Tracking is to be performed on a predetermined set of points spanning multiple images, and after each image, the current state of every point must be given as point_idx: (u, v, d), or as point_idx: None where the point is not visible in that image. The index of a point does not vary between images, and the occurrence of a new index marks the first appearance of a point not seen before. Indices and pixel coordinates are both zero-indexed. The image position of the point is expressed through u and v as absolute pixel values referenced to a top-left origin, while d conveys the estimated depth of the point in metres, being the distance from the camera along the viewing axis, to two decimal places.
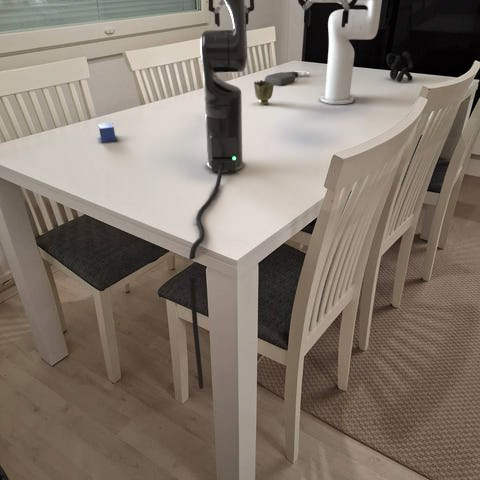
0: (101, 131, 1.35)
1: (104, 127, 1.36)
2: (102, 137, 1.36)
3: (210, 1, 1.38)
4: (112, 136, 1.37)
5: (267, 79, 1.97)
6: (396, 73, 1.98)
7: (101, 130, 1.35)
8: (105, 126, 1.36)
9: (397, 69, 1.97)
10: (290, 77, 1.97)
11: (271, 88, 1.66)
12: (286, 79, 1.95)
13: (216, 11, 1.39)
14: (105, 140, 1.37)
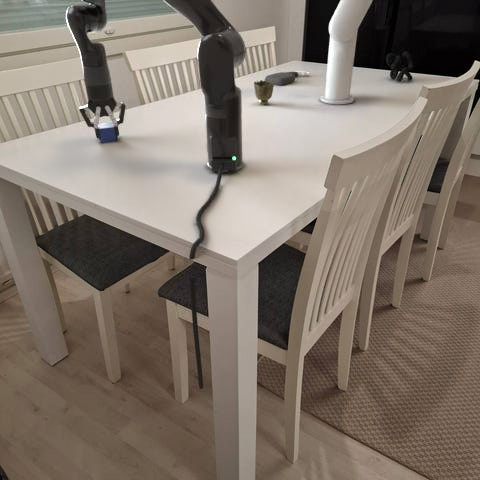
0: (101, 131, 1.35)
1: (104, 127, 1.36)
2: (102, 137, 1.36)
3: None
4: (112, 136, 1.37)
5: (267, 79, 1.97)
6: (396, 73, 1.98)
7: (101, 130, 1.35)
8: (105, 126, 1.36)
9: (397, 69, 1.97)
10: (290, 77, 1.97)
11: (271, 88, 1.66)
12: (286, 79, 1.95)
13: None
14: (105, 140, 1.37)
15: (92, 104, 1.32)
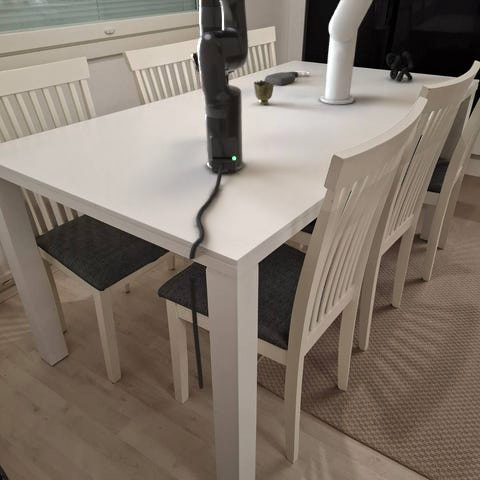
0: None
1: None
2: None
3: None
4: None
5: (267, 79, 1.97)
6: (396, 73, 1.98)
7: None
8: None
9: (397, 69, 1.97)
10: (290, 77, 1.97)
11: (271, 88, 1.66)
12: (286, 79, 1.95)
13: None
14: None
15: None
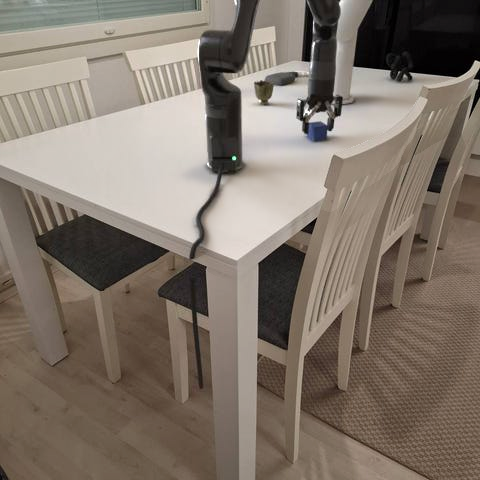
0: (316, 130, 1.33)
1: (318, 126, 1.33)
2: (315, 136, 1.34)
3: None
4: (324, 134, 1.35)
5: (267, 79, 1.97)
6: (396, 73, 1.98)
7: (316, 129, 1.33)
8: (318, 125, 1.34)
9: (397, 69, 1.97)
10: (290, 77, 1.97)
11: (271, 88, 1.66)
12: (286, 79, 1.95)
13: None
14: (317, 139, 1.35)
15: (313, 100, 1.29)
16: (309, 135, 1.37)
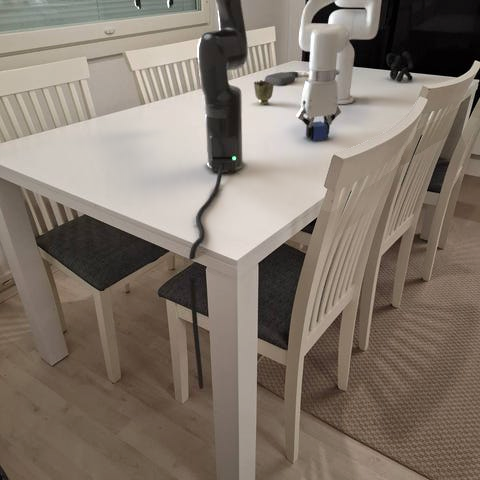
0: (316, 130, 1.33)
1: (318, 126, 1.33)
2: (315, 136, 1.34)
3: None
4: (324, 134, 1.35)
5: (267, 79, 1.97)
6: (396, 73, 1.98)
7: (316, 129, 1.33)
8: (318, 125, 1.34)
9: (397, 69, 1.97)
10: (290, 77, 1.97)
11: (271, 88, 1.66)
12: (286, 79, 1.95)
13: None
14: (317, 139, 1.35)
15: None
16: None
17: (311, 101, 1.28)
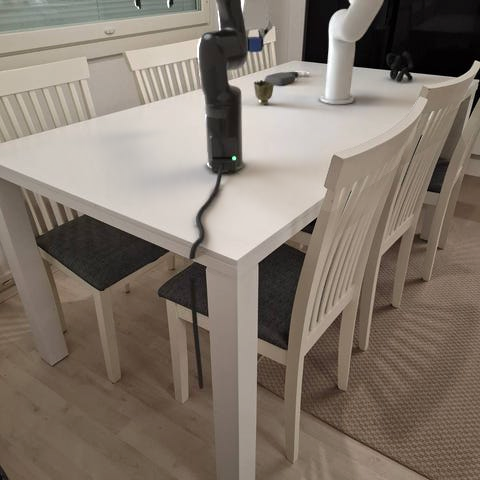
0: (251, 41, 1.57)
1: (253, 38, 1.57)
2: (251, 47, 1.58)
3: None
4: (259, 46, 1.59)
5: (267, 79, 1.97)
6: (396, 73, 1.98)
7: (251, 40, 1.57)
8: (253, 38, 1.58)
9: (397, 69, 1.97)
10: (290, 77, 1.97)
11: (271, 88, 1.66)
12: (286, 79, 1.95)
13: None
14: (253, 50, 1.59)
15: None
16: None
17: (245, 14, 1.52)
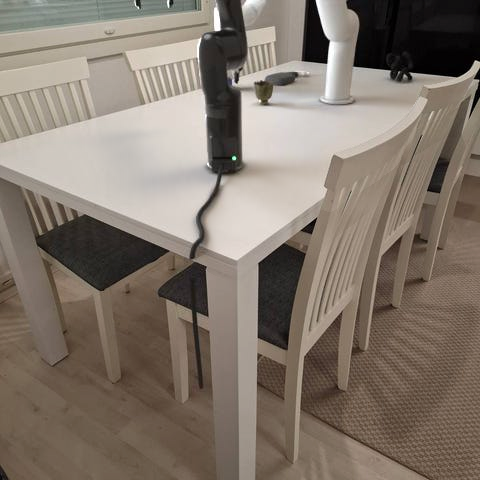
0: None
1: None
2: None
3: None
4: None
5: (267, 79, 1.97)
6: (396, 73, 1.98)
7: None
8: None
9: (397, 69, 1.97)
10: (290, 77, 1.97)
11: (271, 88, 1.66)
12: (286, 79, 1.95)
13: None
14: None
15: None
16: None
17: None
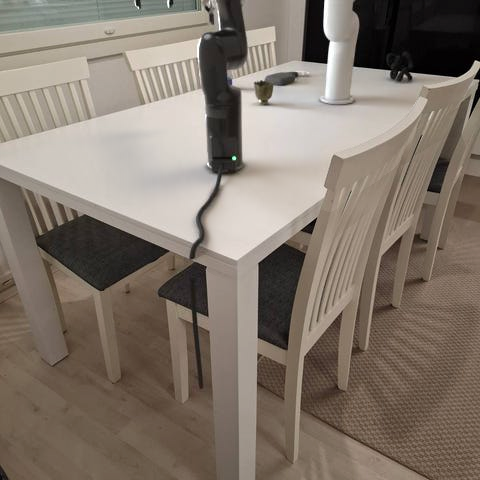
0: None
1: None
2: None
3: None
4: None
5: (267, 79, 1.97)
6: (396, 73, 1.98)
7: None
8: None
9: (397, 69, 1.97)
10: (290, 77, 1.97)
11: (271, 88, 1.66)
12: (286, 79, 1.95)
13: None
14: None
15: None
16: None
17: None
